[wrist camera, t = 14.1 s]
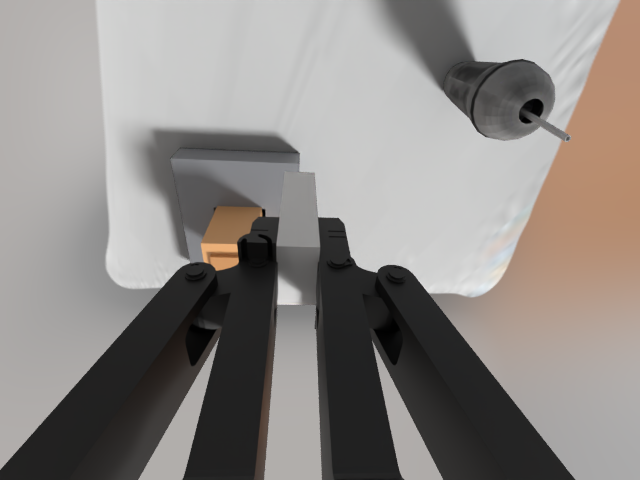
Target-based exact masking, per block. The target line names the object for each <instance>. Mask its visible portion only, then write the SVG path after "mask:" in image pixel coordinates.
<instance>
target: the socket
mask: <svg viewBox="0 0 640 480" xmlns="http://www.w3.org/2000/svg"><path fill="white" fill-rule="evenodd" d="M299 157H300V153H287V152H263V151H240V150H216V149H193V148H180V149H179V150H178V151H177V152H176V153H175V154H174V155H173V156H172V157H171V158H170V159H171V164H172V169H173V175H174V180H175V185H176V190H177V195H178V200H179V206H180V211H181V216H182V221H183V226H184V232H185V237H186V242H187V247H188V252H189V257H190V263H195V262H204V260H203V254H202V248H201V242H202V239H203V237H204V235H205V233H206V230H207V228H208V226H209V224H210V221H211V219H212V217H213V215H214V212H215V210H216V208H217V206H231V207H262V209H263V216H262V217H280V210H281V201H282V192H283V183H284V174H285V172H299Z"/></svg>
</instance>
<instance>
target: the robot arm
mask: <svg viewBox="0 0 640 480" xmlns="http://www.w3.org/2000/svg"><path fill="white" fill-rule="evenodd" d="M237 248H238V259H239V262H238V264H237V265H235V266H233V267H231V268H227V269H223V270H218V271H216V270H215V267H213V266H212V265H211V264H208V263H205V262H195V263H190V264H187V265H185V266H183V267H181V268H180V269H179V270H178V271H177V272H176V273H175V274H174V275H173V276H172V277H171V278H170V279H169V281H168V282H167V283H166V284H165V285H164V286H163V287H162V288H161V290H160V291H159V292H158V293H157V294H156V295H155V296H154V297H153V299H152V300H151V301H150V302H149V303H148V304H147V305H146V306H145V308H144V309H143V310H142V311H141V312H140V313H139V314H138V316H137V317H136V318H135V319H134V320H133V321H132V322H131V323H130V325H129V326H128V327H127V328H126V329H125V330H124V331H123V333H122V334H121V335H120V336H119V337H118V338H117V339H116V340H115V341H114V343H113V344H112V345H111V346H110V347H109V348H108V349H107V350H106V352H105V353H104V354H103V355H102V356H101V357H100V358H99V359H98V361H97V362H96V363H95V364H94V365H93V366H92V367H91V368H90V370H89V371H88V372H87V373H86V374H85V375H84V376H83V377H82V379H81V380H80V381H79V382H78V383H77V384H76V386H75V387H74V388H73V389H72V390H71V391H70V392H69V393H68V394H67V395H66V397H65V398H64V399H63V400H62V401H61V402H60V403H59V404H58V406H57V407H56V408H55V409H54V410H53V411H52V412H51V414H50V415H49V416H48V417H47V418H46V419H45V420H44V421H43V423H42V424H41V425H40V426H39V427H38V428H37V429H36V431H35V432H34V433H33V434H32V435H31V436H30V437H29V438H28V439H27V441H26V442H25V443H24V444H23V445H22V446H21V447H20V448H19V450H18V451H17V452H16V453H15V454H14V455H13V456H12V458H11V459H10V460H9V461H8V462H7V463H6V464H5V465H4V466H3V468H2V469H1V470H0V480H138V479H139V477H140V475H141V473H142V472H143V470H144V468H145V466H146V465H147V463H148V461H149V460H150V458H151V456H152V454H153V453H154V451H155V449H156V447H157V446H158V444H159V442H160V440H161V438H162V437H163V435H164V433H165V431H166V430H167V428H168V426H169V424H170V423H171V421H172V419H173V417H174V416H175V414H176V412H177V410H178V409H179V407H180V405H181V403H182V401H183V400H184V398H185V396H186V395H187V393H188V391H189V389H190V387H191V386H192V384H193V382H194V381H195V379H196V377H197V375H198V373H199V372H200V370H201V368H202V367H203V365H204V363H205V361H206V359H207V358H208V356H209V354H210V352H211V351H212V349H213V347H214V345H215V344H216V342H217V340H218V338H219V341H218V345H217V349H216V353H215V358H214V361H213V365H212V369H211V373H210V377H209V381H208V385H207V389H206V393H205V396H204V400H203V404H202V408H201V413H200V416H199V420H198V424H197V428H196V432H195V436H194V440H193V444H192V448H191V452H190V456H189V460H188V464H187V467H186V471H185V474H184V478H183V480H264V471H265V460H266V447H267V434H268V423H269V410H270V398H271V386H272V373H273V361H274V347H275V336H276V323H277V304H292V305H295V304H296V305H298V304H299V305H316V317H315V329H316V336H317V361H318V387H319V413H320V438H321V462H322V463H321V464H322V480H404V479H403V478H402V476H401V474H400V471H399V467H398V464H397V458H396V454H395V449H394V444H393V439H392V435H391V430H390V425H389V420H388V415H387V410H386V406H385V401H384V396H383V391H382V387H381V382H380V377H379V372H378V367H377V363H376V358H375V353H374V348H373V343H374V345H375V346H376V348H377V350H378V352H379V354H380V356H381V358H382V360H383V362H384V364H385V366H386V368H387V370H388V372H389V374H390V376H391V378H392V380H393V382H394V384H395V386H396V388H397V390H398V392H399V393H400V395H401V397H402V399H403V401H404V403H405V405H406V407H407V409H408V411H409V413H410V415H411V417H412V419H413V421H414V423H415V425H416V427H417V429H418V431H419V433H420V435H421V437H422V439H423V441H424V442H425V445H426V447H427V448H428V450H429V452H430V454H431V456H432V458H433V460H434V462H435V464H436V466H437V468H438V470H439V472H440V474H441V476H442V478H443V480H575V479H574V478H573V476H572V475H571V474H570V473H569V472H568V470H567V469H566V467H565V466H564V465H563V464H562V463H561V461H560V460H559V459H558V457H557V456H556V455H555V454H554V452H553V451H552V450H551V448H550V447H549V446H548V445H547V443H546V442H545V441H544V440H543V438H542V437H541V436H540V434H539V433H538V432H537V431H536V429H535V428H534V427H533V426H532V424H531V423H530V422H529V421H528V419H527V418H526V417H525V415H524V414H523V413H522V412H521V410H520V409H519V408H518V407H517V405H516V404H515V403H514V402H513V400H512V399H511V398H510V396H509V395H508V394H507V393H506V391H505V390H504V389H503V388H502V387H501V385H500V384H499V382H498V381H497V380H496V379H495V378H494V376H493V375H492V374H491V372H490V371H489V370H488V369H487V367H486V366H485V365H484V364H483V362H482V361H481V360H480V358H479V357H478V356H477V355H476V353H475V352H474V351H473V350H472V348H471V347H470V346H469V344H468V343H467V342H466V341H465V339H464V338H463V337H462V336H461V334H460V333H459V332H458V331H457V330H456V328H455V327H454V326H453V325H452V323H451V322H450V320H449V319H448V318H447V317H446V315H445V314H444V313H443V311H442V310H441V309H440V308H439V306H438V305H437V304H436V303H435V302H434V300H433V299H432V298H431V296H430V295H429V294H428V292H427V291H426V290H425V289H424V287H423V286H422V285H421V284H420V282H419V281H418V280H417V278H416V277H415V276H414V275H413V274H412V273H411V272H410V271H409V270H408V269H406V268H404V267H401V266H397V265H386V266H383V267H381V268H380V269H379V270H378V273H375V272H371V271H367V270H364V269H362V268H360V267H358V266H357V265H356V263H355V261H354V259H353V258H351V256H350V251H349V246H348V241H347V236H346V231H345V226H344V223H343V222H342V221H341V220H340V219H339V218H319V217H318V212H317V198H316V185H315V173H309V172H285V174H284V183H283V192H282V201H281V210H280V217H258V218H257V219H255V220H254V221H253V222H252V226H251V231H250V233H249V234H245V235H243V236H242V237H240V238H239V240H238V241H237ZM372 341H373V343H372Z"/></svg>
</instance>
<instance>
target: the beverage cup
mask: <svg viewBox="0 0 640 480" xmlns="http://www.w3.org/2000/svg"><path fill="white" fill-rule="evenodd" d="M444 91H445V94H446V95H447V97H448V98H449V99H450V100H451V102H453V103H454V104H455V105H456V106H457V107H458V108H459V109H460V110H461V111H462V112H463V113H464V114H465V115H466V116H467V117H469V118H470V120H471V121H472V124H473V125H474V127H475V128H476V130H477V132H479V133H480V134H482V135H483V136H485V137H488V138H493V139H498V140H503V141H505V140H514V139H519V138H522V137H524V136H526V135H529V134H531V133H532V132H534V131H535V130H537V129H538V128H539V127H540V126H541V127H542V128H544V129H546V130H547V131H549V132H551V133H552V134H554V135H555V136H557V137H559V138H560V139H562V140H564V141H565V142H568V141H569V140H570V139H571V136H570V135H568V134H566V133H565V132H563V131H561V130H560V129H558V128H556V127H555V126H553V125H551V124H549V123H548V122H546V120H547V118H548V116H549V115H550V113H551V111H552V109H553V106H554V102H555V86H554V84H553V82H552V80H551V77H550V76H549V74H548V73H546V72H545V71H544V70H543V69H542V68H540V67H539V66H538V65H537V64H535V63H534V62H531V61H528V60H524V59H520V60H512V61H508V62H503V63H495V62H475V61H472V62H461V63H459V64H457V65H455V66H454V67H453V68H452V69H450V71H449V72H448V74H447V75H446V78H445V80H444Z"/></svg>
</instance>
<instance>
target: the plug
mask: <svg viewBox="0 0 640 480" xmlns="http://www.w3.org/2000/svg"><path fill="white" fill-rule="evenodd" d="M262 216H263V209H262V207H231V206H217V208H216V210H215V212H214V215H213V217H212V219H211V221H210V224H209V226H208V228H207V230H206V233H205V235H204V237H203V239H202V242H201V248H202V254H203V260H204V262H205V263H208V264H211V265H212V266H213V267H215V270H216V271H218V270H223V269H227V268H231V267H233V266H235V265H237V264H238V262H239V259H238V248H237V241H238V240H239V238H240V237H242V236H243V235H245V234H249V233H250V231H251V226H252V222H253V221H254V220H255V219H257V218H258V217H262Z"/></svg>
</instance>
